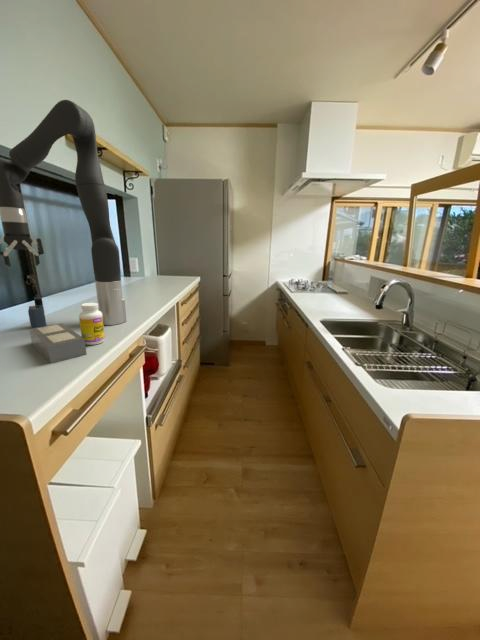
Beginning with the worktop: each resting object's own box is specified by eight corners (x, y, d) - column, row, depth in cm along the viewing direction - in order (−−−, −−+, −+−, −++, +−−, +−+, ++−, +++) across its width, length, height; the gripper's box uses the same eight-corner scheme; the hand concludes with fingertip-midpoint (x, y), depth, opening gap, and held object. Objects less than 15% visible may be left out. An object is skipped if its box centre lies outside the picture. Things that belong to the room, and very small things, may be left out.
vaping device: (48, 325, 104) (43, 294, 101) (34, 328, 99) (28, 296, 96) (43, 324, 105) (38, 293, 102) (29, 327, 100) (23, 296, 97)
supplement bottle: (95, 346, 85) (91, 307, 82) (77, 344, 87) (72, 305, 83) (109, 339, 92) (105, 302, 88) (92, 337, 93) (88, 301, 89)
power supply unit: (64, 337, 92) (61, 322, 91) (86, 354, 80) (84, 337, 78) (31, 343, 86) (29, 328, 84) (50, 363, 73) (47, 345, 72)
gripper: (-10, 219, 91) (0, 267, 96) (40, 222, 102) (47, 266, 106) (-13, 220, 96) (-3, 266, 101) (35, 222, 106) (42, 264, 111)
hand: (23, 266), depth 103 cm, fingers open, 8 cm apart
